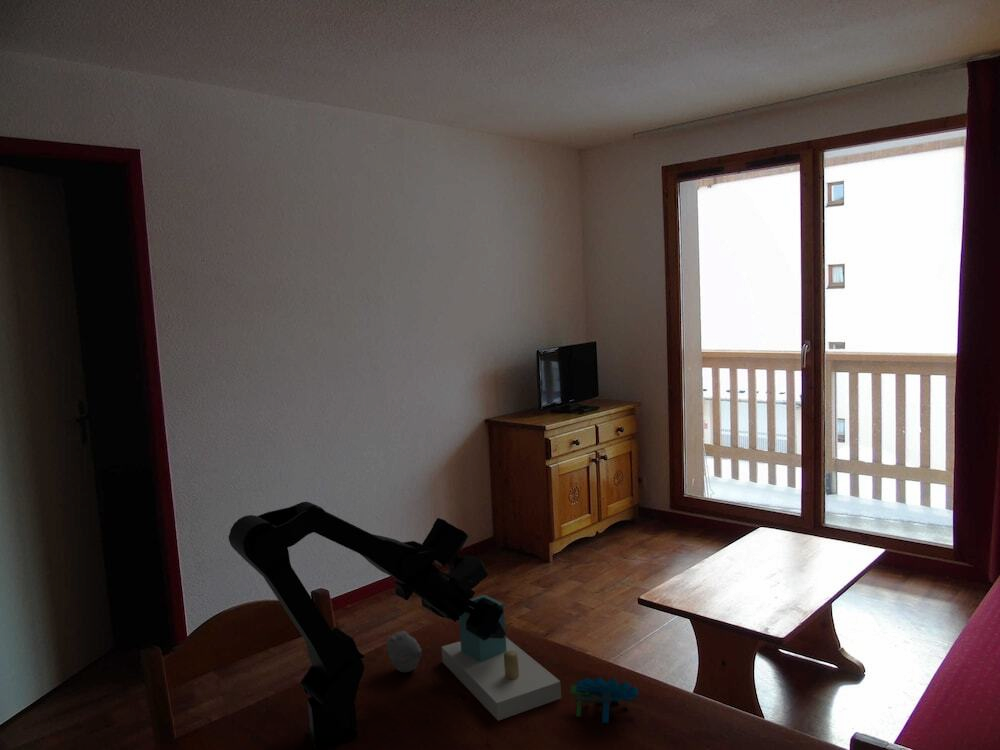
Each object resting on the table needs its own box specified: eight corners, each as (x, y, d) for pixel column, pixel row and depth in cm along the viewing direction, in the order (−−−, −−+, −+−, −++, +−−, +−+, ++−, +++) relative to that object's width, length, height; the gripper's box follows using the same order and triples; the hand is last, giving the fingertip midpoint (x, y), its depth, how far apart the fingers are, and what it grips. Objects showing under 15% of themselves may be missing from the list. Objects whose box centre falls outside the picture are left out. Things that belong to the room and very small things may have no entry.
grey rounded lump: (403, 658, 137) (401, 623, 137) (430, 668, 133) (428, 632, 132) (380, 672, 133) (377, 636, 132) (407, 682, 128) (404, 645, 128)
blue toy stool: (646, 694, 117) (628, 673, 110) (645, 733, 113) (626, 714, 107) (582, 692, 122) (561, 672, 115) (579, 729, 118) (557, 711, 111)
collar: (480, 662, 128) (477, 613, 127) (461, 650, 133) (458, 604, 132) (506, 650, 132) (503, 603, 131) (486, 640, 136) (483, 594, 136)
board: (498, 720, 115) (495, 673, 114) (442, 661, 135) (439, 621, 134) (561, 698, 120) (558, 652, 119) (498, 644, 141) (496, 605, 140)
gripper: (491, 559, 121) (543, 603, 128) (430, 536, 135) (481, 576, 143) (455, 619, 116) (511, 660, 124) (397, 588, 131) (451, 627, 139)
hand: (488, 627), depth 133 cm, fingers open, 9 cm apart
